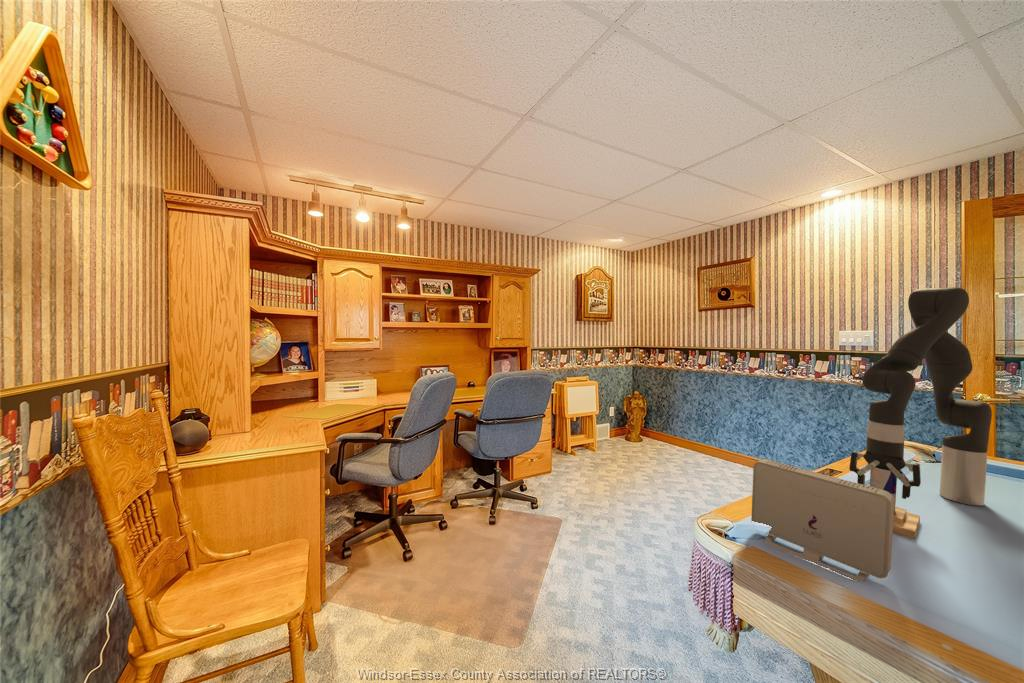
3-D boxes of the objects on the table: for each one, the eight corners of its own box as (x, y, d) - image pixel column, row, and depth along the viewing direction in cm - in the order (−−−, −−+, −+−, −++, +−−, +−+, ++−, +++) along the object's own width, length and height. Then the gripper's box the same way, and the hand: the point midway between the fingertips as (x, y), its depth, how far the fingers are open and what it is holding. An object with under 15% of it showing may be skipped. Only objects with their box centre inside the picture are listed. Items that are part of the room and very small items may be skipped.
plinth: (853, 503, 114) (853, 492, 114) (919, 522, 103) (920, 510, 103) (843, 516, 106) (844, 505, 105) (914, 539, 94) (915, 526, 94)
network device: (747, 535, 95) (750, 462, 94) (760, 525, 100) (763, 455, 99) (884, 594, 74) (889, 500, 73) (892, 578, 79) (896, 489, 79)
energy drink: (900, 513, 101) (902, 472, 101) (878, 511, 102) (880, 470, 102) (885, 504, 106) (887, 464, 106) (863, 502, 107) (865, 463, 107)
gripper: (923, 441, 100) (920, 498, 101) (854, 430, 111) (851, 481, 112) (921, 446, 96) (918, 506, 96) (849, 434, 107) (846, 487, 107)
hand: (882, 492), depth 104 cm, fingers open, 8 cm apart
